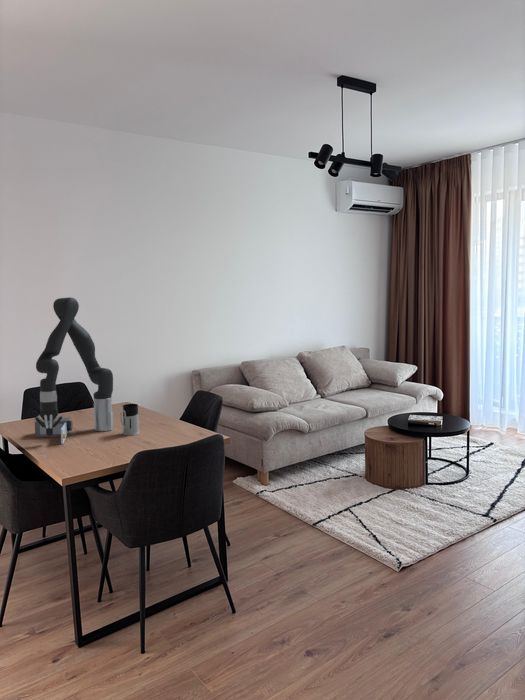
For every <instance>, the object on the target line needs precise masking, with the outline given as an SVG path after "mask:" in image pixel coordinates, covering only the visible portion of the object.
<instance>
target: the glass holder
mask: <svg viewBox="0 0 525 700" xmlns="http://www.w3.org/2000/svg"><path fill="white" fill-rule="evenodd" d="M119 415H120V422H121V425H122V427H123V428H122V429H123V430H122V435H123V436H126V435H127V436H130V437H131V435H132V436H138V435H140V434H139V433H140V427H139V426H140V423H139V404H137V403H127V404H126V403H125V404H123V405H122V410H121V412H120V414H119ZM137 434H138V435H137Z"/></svg>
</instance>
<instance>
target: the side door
mask: <svg viewBox="0 0 525 700" xmlns="http://www.w3.org/2000/svg"><path fill="white" fill-rule="evenodd" d="M67 436H68V435H67V427H66V422H65V423H64V425H63V426H62V428H61V437H60V443H61V445H62V444H63V445H64V442H65V440H66V439H67Z"/></svg>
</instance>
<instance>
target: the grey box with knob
mask: <svg viewBox="0 0 525 700" xmlns="http://www.w3.org/2000/svg"><path fill="white" fill-rule="evenodd" d="M57 417H58V416H57ZM57 417H56V418H55V420H53V424H55V423H56V421H57V420H58V419H57ZM41 420H42V421H43V422H44V424H45V421H44V420H43V419H42V418H41ZM65 422H66V427H67V436H68V435H69V434H70V433H71V431H73V427H74V426H73V425H74V423H73V422H74V421H72V420H71V416H63V418H62V419H61V420H60V422H59V423H58V424H57V425H56V427H53V434H52V435H51V436H48V435H47V434H46V428H44V427H42V426H41V425H40V424H39V423H38V422H37V421H36V420H35V421H34V437H35V438H54V437H56V438H58V437H59V438H61V428H62V426H63V425H64V423H65ZM49 428H50V421H49Z"/></svg>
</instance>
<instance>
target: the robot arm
mask: <svg viewBox="0 0 525 700" xmlns="http://www.w3.org/2000/svg"><path fill="white" fill-rule="evenodd" d="M52 304H53V305H52V306H53V307H52V308H53V311H54V313H55V315H56V317H57V319H59V321H58V324H56V326H55V327H54V329H53V330H52V332H51V333H50V335H49V337H48V339H47V340H46V341H47V342H46V344H45V348H44V350H43V351H42V352H41V354H40V355H39V357H38V358H37V361H36V364H35V369H36V371H37V372H38V373H40V374H46V375H45V377H44V378H41V379H40V381H39V386H40V387H39V389H40V391H39V403H40V404H39V405H40V406H39V409H40V411H39V414H38V416H36V417H35V418H34V420H35V421H37V422H38V423H39V424H40V425H41V426H42V427H44V428H46V434H47V435H48V436H51V435H52V434H53V427H56V425H57V424H58V423H59V422H60V420H61V419H62V418H63V417H64V416H63V415H61V414H59V411H58V394H57V378H58V375H59V371H60V366H59V362H58V361H57V360H56V359H54V358H55V357H57V356H59V355H60V353H61V350H62V348H63V343H64V342H65V338H66V336H67V334H68V336H69V337H70V340H71V342H72V343H73V345H74V348H75V350H76V351H77V354H78V355H79V357H80V358H81V362H82V363H83V365H84V366H85V370H86V372H87V375H88V377H89V380H90V381H91V383H93V384H94V385H97V387H98V388H97V391H94V392H93V420H94V421H93V422H94V431H95V432H107V431H112V430H113V429H114V412H113V404H112V401H113V399H112V395H113V391H114V376H113V372H112V370H111V369H109V368H106V367H101V365H100V364H99V362H98V361H97V358H96V347H95V342H94V341H93V339H92V337H91V335H90V333H89V332H88V331H87V329H86V328H84V327H83V326H81V324H80V323H78V322H77V321H76V319H75V318H76V316H77V314H78V312H79V307H80V305H79V302H78V300H77V299H76V298H74V297H71V296H70V297H61V298H60V297H59V298H57V299H55V300H54V301H53V303H52ZM56 417H57V419H58V420H57V421H56V423H55V424H53V420H55V418H56ZM41 418H42V419H43V420H44V421H45V424H44V422H43V421H42V420H41ZM49 421H50V428H49Z"/></svg>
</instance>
